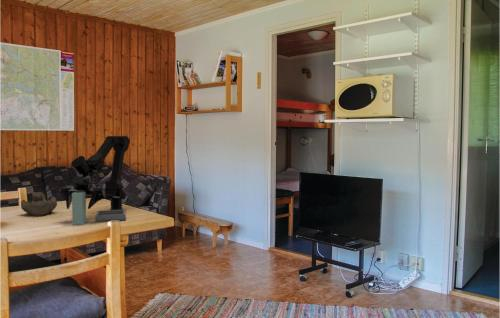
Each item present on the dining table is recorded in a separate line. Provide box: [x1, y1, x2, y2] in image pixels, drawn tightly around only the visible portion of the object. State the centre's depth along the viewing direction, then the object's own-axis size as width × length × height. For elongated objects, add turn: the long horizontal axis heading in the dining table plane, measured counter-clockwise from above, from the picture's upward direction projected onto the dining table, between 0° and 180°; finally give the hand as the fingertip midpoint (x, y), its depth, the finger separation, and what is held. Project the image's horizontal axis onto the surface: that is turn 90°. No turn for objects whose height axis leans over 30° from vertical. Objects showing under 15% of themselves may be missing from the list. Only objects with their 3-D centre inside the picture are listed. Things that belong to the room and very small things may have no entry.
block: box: [71, 192, 87, 226], centre depth 188 cm, size 4×4×14 cm
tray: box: [94, 209, 126, 223], centre depth 200 cm, size 13×13×3 cm
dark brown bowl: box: [20, 191, 58, 217], centre depth 211 cm, size 16×11×15 cm
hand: (78, 208), depth 187 cm, fingers open, 9 cm apart
